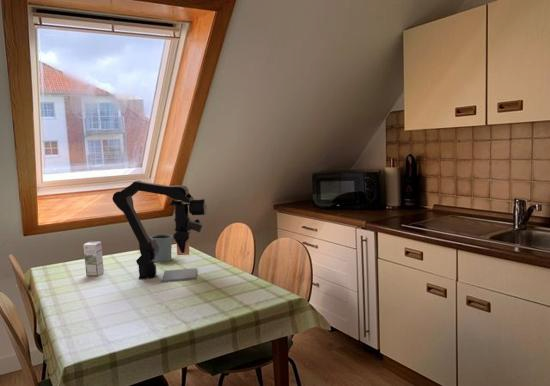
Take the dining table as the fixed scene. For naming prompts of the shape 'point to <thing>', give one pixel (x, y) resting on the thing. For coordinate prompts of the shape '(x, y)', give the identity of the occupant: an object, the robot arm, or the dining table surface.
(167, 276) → the slate plate
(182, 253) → the terracotta block
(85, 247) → the syrup box
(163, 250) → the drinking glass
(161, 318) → the dining table surface
